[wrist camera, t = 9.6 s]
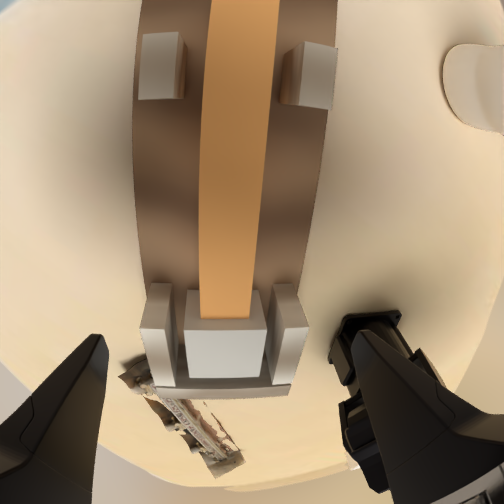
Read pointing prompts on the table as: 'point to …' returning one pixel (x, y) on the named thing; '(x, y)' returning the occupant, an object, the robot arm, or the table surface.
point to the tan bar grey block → (231, 190)
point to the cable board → (187, 184)
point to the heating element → (185, 422)
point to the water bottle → (476, 85)
